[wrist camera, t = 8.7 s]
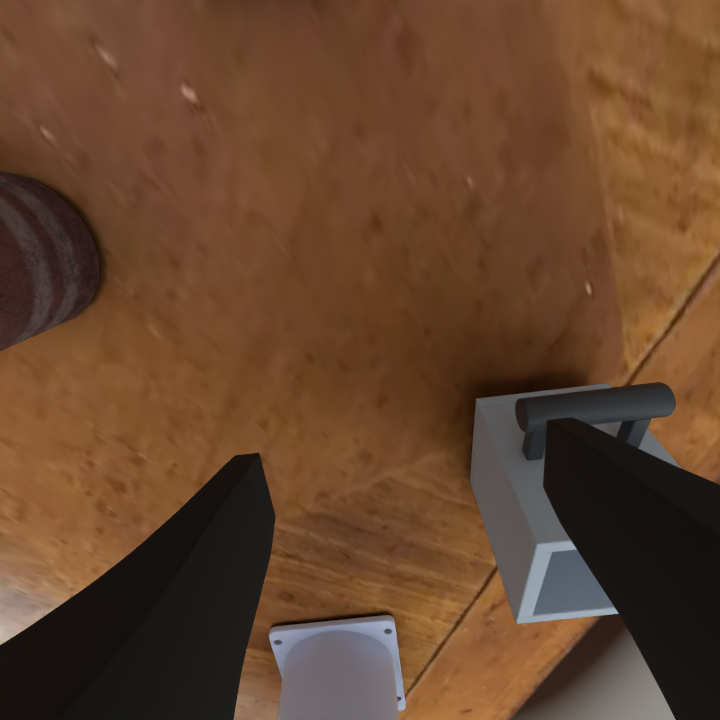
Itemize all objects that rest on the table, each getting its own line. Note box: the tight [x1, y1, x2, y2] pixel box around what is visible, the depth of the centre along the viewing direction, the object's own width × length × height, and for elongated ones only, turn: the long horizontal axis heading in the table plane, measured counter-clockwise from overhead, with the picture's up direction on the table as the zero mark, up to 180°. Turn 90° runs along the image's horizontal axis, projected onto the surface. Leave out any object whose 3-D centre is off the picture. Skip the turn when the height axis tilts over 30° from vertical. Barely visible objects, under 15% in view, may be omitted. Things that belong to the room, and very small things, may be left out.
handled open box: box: [470, 382, 682, 624], centre depth 17 cm, size 7×6×9 cm
